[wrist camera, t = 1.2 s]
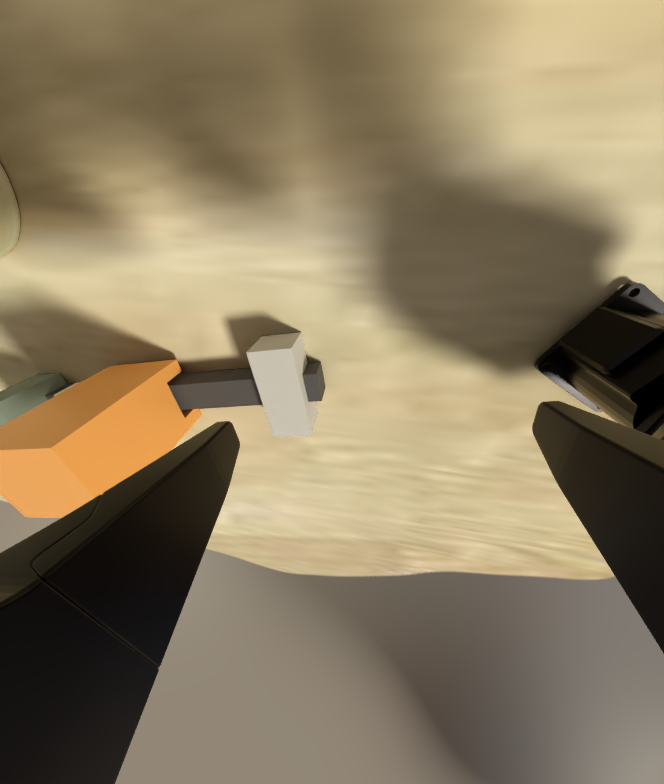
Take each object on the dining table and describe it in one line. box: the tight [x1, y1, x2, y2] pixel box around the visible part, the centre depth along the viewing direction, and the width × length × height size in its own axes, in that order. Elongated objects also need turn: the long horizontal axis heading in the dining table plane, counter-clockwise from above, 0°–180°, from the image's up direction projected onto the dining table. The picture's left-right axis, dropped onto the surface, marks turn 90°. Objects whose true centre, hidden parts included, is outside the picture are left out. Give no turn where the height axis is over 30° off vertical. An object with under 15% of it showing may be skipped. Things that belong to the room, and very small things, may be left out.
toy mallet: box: [0, 332, 325, 438], centre depth 21 cm, size 26×7×5 cm, turn 98°
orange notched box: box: [0, 360, 202, 518], centre depth 19 cm, size 6×5×10 cm
